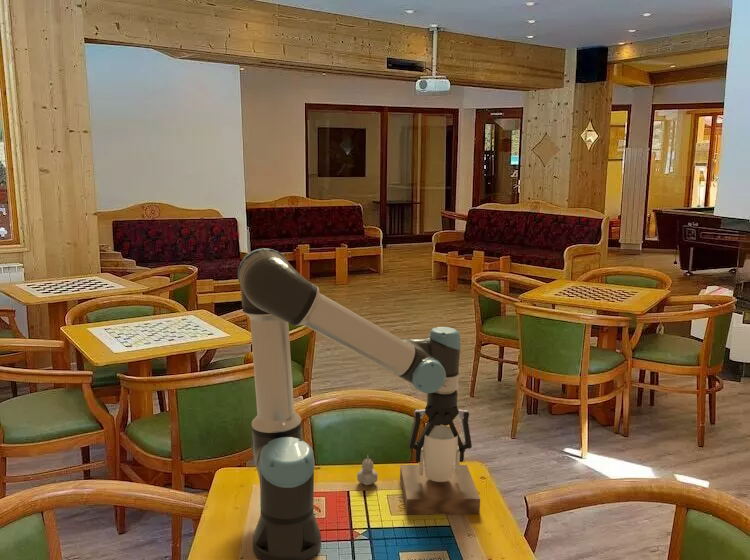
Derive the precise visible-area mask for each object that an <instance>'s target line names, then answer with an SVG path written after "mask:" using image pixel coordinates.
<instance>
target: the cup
mask: <svg viewBox="0 0 750 560" xmlns="http://www.w3.org/2000/svg"><path fill="white" fill-rule="evenodd" d="M457 448H459V446H458V435H457V436H456V437H454V435H453V433H452V431H451V428H450V426H449V425H448V426H444V425H439V426H434V428H433V429H432V430H431V432H430V434H429V436H426V435H425V438H424V445H423V450H424V462H423V465H425V473H426V477H427V478H428V479H430V480H432V481H435V482H445V481H448V480H450V479H451V477H452V472H453V468H454V465H455V458H456V453H457Z"/></svg>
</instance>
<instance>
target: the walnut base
mask: <svg viewBox="0 0 750 560" xmlns="http://www.w3.org/2000/svg"><path fill="white" fill-rule="evenodd" d="M399 468H400V469H399V470H400V471H399V473H400V474H399V479H400V480H401V481H400V480H399V481H400V484H401V485H400V487H401V490H402V497H404V498H403V503H404V508H406V509H405V513H407V514H406V515H478V514H479V515H480V511H481V497H480V495H479V492H478V489H477V487H476V484H475V483H474V480H473V477H472V474H471V471H470V469H469V467H468V464H459V476H456V474H455V471H454V468H453V472H452V477H451V479H450V480H448V481H445V482H435V481H432V480H430V479H428V478H427V477H426V473H425V464H423V476H420V474H419V464H400V467H399Z"/></svg>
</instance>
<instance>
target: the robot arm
mask: <svg viewBox="0 0 750 560" xmlns="http://www.w3.org/2000/svg"><path fill="white" fill-rule="evenodd" d="M237 269H238V270H237V279H238V282H239V284H240V296H241V308H242V313H243V314H244V315H246V316H247V317H248V318H249V321H250V322H249V323H250V337H251V348H252V359H253V360H252V361H253V373H254V374H253V375H254V386H255V387H254V388H255V400H256V402H255V403H256V412H257V413H256V414H257V415H256V416H255V417H254V418H253V419H252V421H251V434H252V437H251V443H250V445H251V452H252V455H253V458H254V463H255V466H256V470H257V475H258V478H259V492H260V493H259V495H260V498H259V499H260V501H259V502H260V503H259V504H260V505H259V506H260V515H259V519H258V522H257V524H256V528H255V531H254V534H253V535H252V551H253V554H254V555H255V557H256V558H257V559H259V560H311V559H313V558H315V556H317V554H318V553H319V552H320V551H321V547H322V534H321V531H320V528H319V524H318V520H317V519H316V516H315V511H314V504H315V503H314V499H315V498H314V495H315V493H314V492H315V491H314V488H315V487H314V485H315V482H314V481H315V480H314V479H315V465H316V464H315V462H316V461H315V457H314V451H313V449H312V447H311V445H309V444H308V443H307V442H306V441H304V440H303V425H302V418H301V416H300V415H299V414H298V413H297V412H296V411H295V404H294V403H295V402H294V387H293V386H294V385H293V375H292V374H293V372H292V371H293V370H292V358H291V343H290V342H291V341H290V328H289V327H290V326H289V324H290V325H292V326H293V327H299V326H302V325H303V326H304V327H306V328H309V329H310V330H312V331H314V332H316V333H317V334H320V335H321V336H323V337H325V338H327V339H329V340H331V341H332V342H335V343H336V344H338V345H340V346H342V347H344V348H346V349H347V350H349V351H351V352H353V353H354V354H357V355H359V356H361V357H363V358H364V359H366V360H368V361H369V362H372V363H374V364H375V365H377V366H379V367H381V368H383V369H385V370H386V371H389V372H390V373H392V374H394V375H395V376H397V377H399V378H401V379H403V380H404V381H406V382H408V383H410V384H412V385H413V386H414V388H415V389H417V390H418V391H420V392H422V393H424V394H426V396H427V397H426V406H425V407H424V409H423V408H422V409H419V408H415V409H414V411H413V412H414V413H413V414H414V419H413V423H412V427H411V432H410V435H409V440H408V447H409V448H410V449H411V450H412V449H413V450H414V451H415V452H414V453H415V454H414V456H415V457H414V459H415V462H416V463H418V465H419V474H420V476H423V465H424V450H423V445H424V438H425V435H426V436H429V434H430V432H431V430H432V429H433V428H434V426H439V425H441V426H448V427H450V428H451V431H452V433H453V435H454V437H456V436H457V435H458V448H457V453H456V458H455V463H454V471H455V474H456V476H459V465H461V463H463V462H464V461H465V460H464V458H465V452H466V450H467V449H469V450H471V449H472V447H473V446H472V439H471V432H470V427H469V426H470V425H469V418H470V413H469V411H468V409H467V408H463V409H458V395H459V393H458V388H459V367H460V355H461V333H460V332H459V330H457V329H456V328H453V327H449V326H437V327H432V329H430V331H429V335H428V337H427V336H425V337H412V338H400V337H399V336H396V335H395V334H392V333H391V332H390V331H388V330H386V329H384V328H382V327H380V326H379V325H377V324H375V323H373V322H372V321H370V320H368V319H366V318H364V317H363V316H361V315H359V314H357V313H355V312H354V311H352V310H351V309H348V308H347V307H346V306H344V305H342V304H340V303H338V302H336V301H334V300H332V299H330V297H328V296H326V295H324V294H322V293H321V291H320V288H319V286H318V285H316V284H314V283H313V282H311V281H310V280H308V279H306V278H305V277H304V276H303V275H301V273H299V272H298V271H297V269H295V268H294V266H292V265H291V264H290V262H289V261H288V259H287V258H286V257H285V255H284V254H282V253H281V252H280V251H278V250H275V249H271V248H264V247H263V248H258V249H255V250H252V251H250V252H248V253H247V254H246V255H245V256H244V257H243V258H242V260H241V262H240V263H239V266H238V268H237ZM424 415H426V416H427V418H428V419H427V421H426V423H425V426H424V428H423V429H422V432H421V433H420V435H419V437H418V434H419V430H420V425H421V420H422V419H423V418H424ZM458 415H459V418H460V419H461V423H462V429H463V430H462V431H463V435H464V436H463V437H464V442H463V441H462V439H461V437H460V435H459V432H458V430H457V428H456V426H455V424H454V420H455V419H456V418H457V416H458ZM417 438H418V439H417Z"/></svg>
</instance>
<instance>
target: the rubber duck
mask: <svg viewBox="0 0 750 560" xmlns="http://www.w3.org/2000/svg"><path fill="white" fill-rule="evenodd" d="M378 476H379V475H378V472H377V471H376V470H375V468H374V462H373V460H372V458H369V455H367V457H366V458H364V459H363V461H362V462H361V469H360V470H359V471H358V472H357V474H356V477H357V481H358V483H360V484H362V485H365V486H369V485H372V484H373V485H374V483H376V482H377V481H378Z"/></svg>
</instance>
